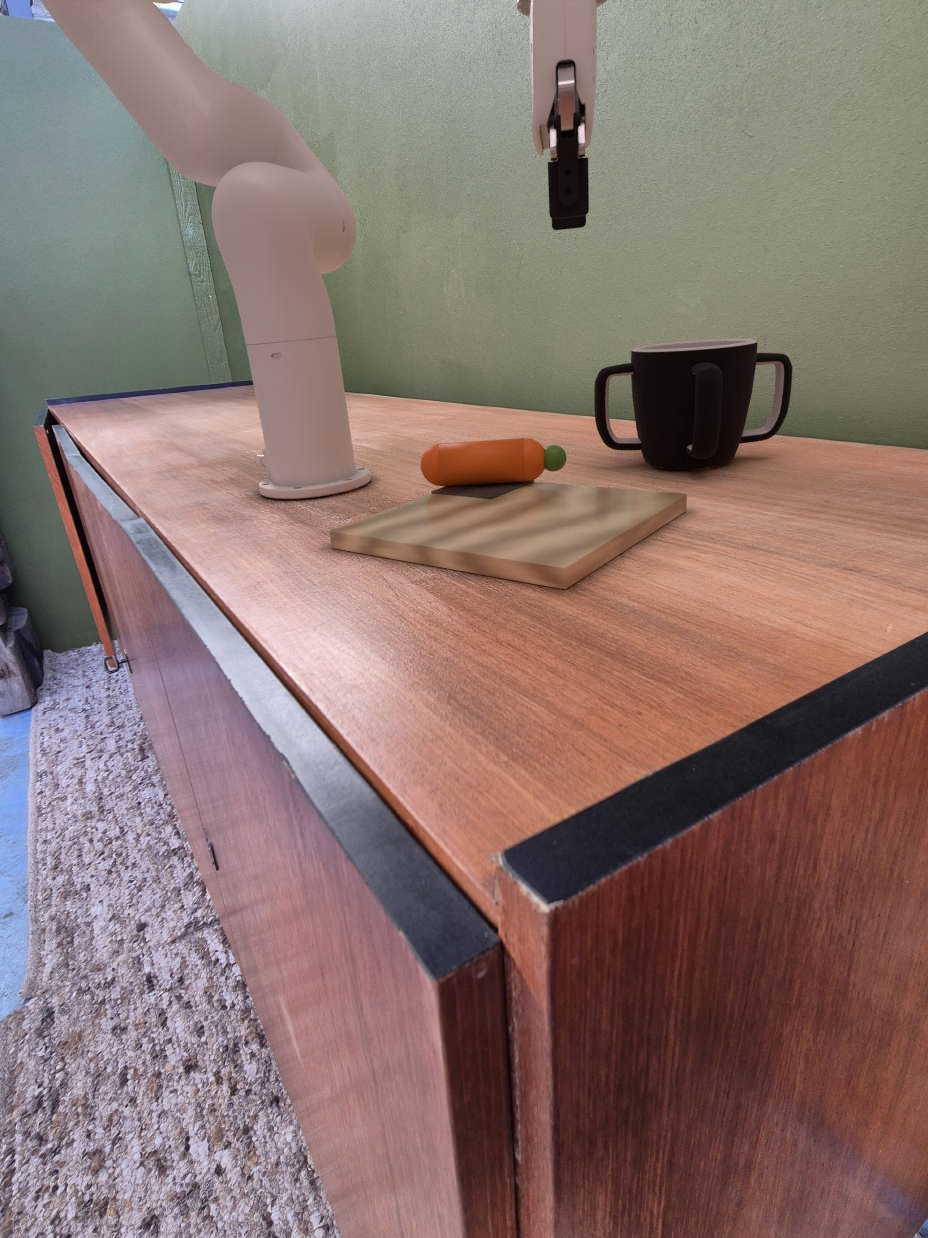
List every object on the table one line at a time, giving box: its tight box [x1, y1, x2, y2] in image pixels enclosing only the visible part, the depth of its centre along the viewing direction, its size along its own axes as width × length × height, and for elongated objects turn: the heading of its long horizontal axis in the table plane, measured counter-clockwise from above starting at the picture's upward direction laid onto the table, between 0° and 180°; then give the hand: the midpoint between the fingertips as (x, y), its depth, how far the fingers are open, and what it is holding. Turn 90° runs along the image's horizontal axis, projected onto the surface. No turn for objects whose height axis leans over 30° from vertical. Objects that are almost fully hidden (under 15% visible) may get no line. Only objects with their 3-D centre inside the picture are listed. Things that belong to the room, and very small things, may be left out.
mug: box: [593, 338, 793, 471], centre depth 74 cm, size 16×16×12 cm
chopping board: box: [328, 480, 688, 590], centre depth 59 cm, size 22×20×2 cm
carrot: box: [420, 437, 567, 487], centre depth 67 cm, size 14×4×4 cm, turn 83°
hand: (569, 222), depth 63 cm, fingers open, 9 cm apart
